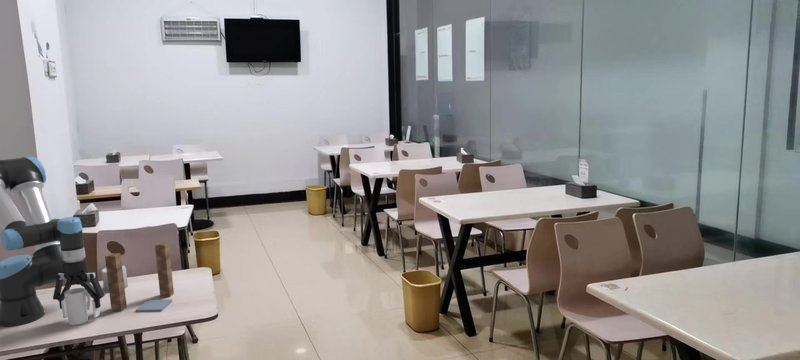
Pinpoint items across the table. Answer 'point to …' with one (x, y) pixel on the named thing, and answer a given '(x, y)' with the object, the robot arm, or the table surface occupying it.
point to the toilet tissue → (105, 279)
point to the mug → (77, 305)
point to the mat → (153, 305)
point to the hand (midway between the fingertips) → (81, 316)
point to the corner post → (115, 281)
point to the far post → (164, 269)
